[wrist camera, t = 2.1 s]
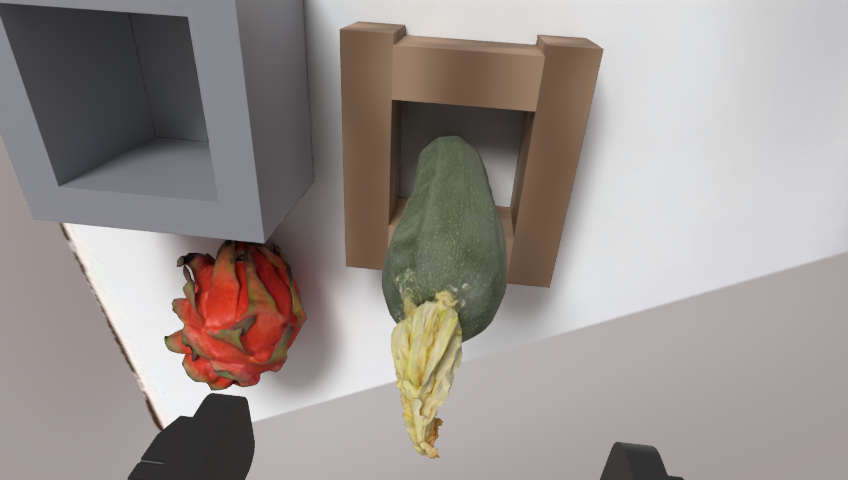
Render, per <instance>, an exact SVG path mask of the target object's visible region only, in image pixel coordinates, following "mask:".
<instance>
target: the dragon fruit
mask: <svg viewBox="0 0 848 480" xmlns="http://www.w3.org/2000/svg"><path fill="white" fill-rule="evenodd" d="M273 246H274V249H273V250H274V253H272V252H270V251H269V250H268V249H267V248H266V247H265V246H264V245H263V244H261V243H257V242H247V241H237V240H228V239H226V240H225V241H224V242H223V244H222V245H221V247H220V249H219V251H218V253H217V257H216V260H215V259H214V258H213V257H212V256H211V255H210V254H208V253H207V254H206V255H204V254H200V253H189V254H187V255H186V256H181V257H180V258H179V259H178V260H177V267H181V266H183V265H184V267H183V274H184V276H185V278H186V280H187V283H186V284H185V286H184V287H183V291H184V293H185V295H186V298H179V299H174V300H173V302H172V306H173V311H174V312H175V313H176V314H177V315H178V318H179V319H180V320H181V321H182V322H183V323H184V327H183V329H182V330H179V331H177V332H175V333H173V334H172V335H170V336H165V338H164V340H165V344H166V346H167V348H168V349H169V350H170V351H172V352H175V353H181V354H186V355H185V357H184V360H183V362H182V365H183V367H184V369H185V371H186V373H187V375H188V376H189V377H190V378H191V379H192V380H193V381H196V382H205V383H207V384H208V385H209V387H210V389H211V390H223V389H227V388H228V387H230V386H231V385H232V384H235V385H238V386H241V387H248V386H253V385H256V384H257V383H258V382H259V380H260V374H261V373H264V372H266V371H269V370H270V371H273V372H278V371H279V370H280V369H281V367H282V366H283V364H284V363H285V362H286V359H287V357H288V356H287V350H288V349H289V347H290V346H291V345H292V343H293V341H294V340H295V338H296V336H297V334H298V332H299V331H300V328H301V326H302V324H303V323H304V322H305V320H306V313H305V311H304V310H303V307H302V305H301V302H300V296H299V292H298V288H297V285H296V283H295V281H294V279H293V277H292V273H291V268H290V266H289V264H288V263H287V261H286V259H285V257H284V255H283V254H282V253H281V250H280V248H279V247H277V246H276V245H275V244H273ZM185 265H188V266H189V267H190V268H191V270H192V272H193V275H194V280H195V282H194V281H193V280H192V279H191V275H190V272H189V270H188V268H187V267H186V266H185Z"/></svg>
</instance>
